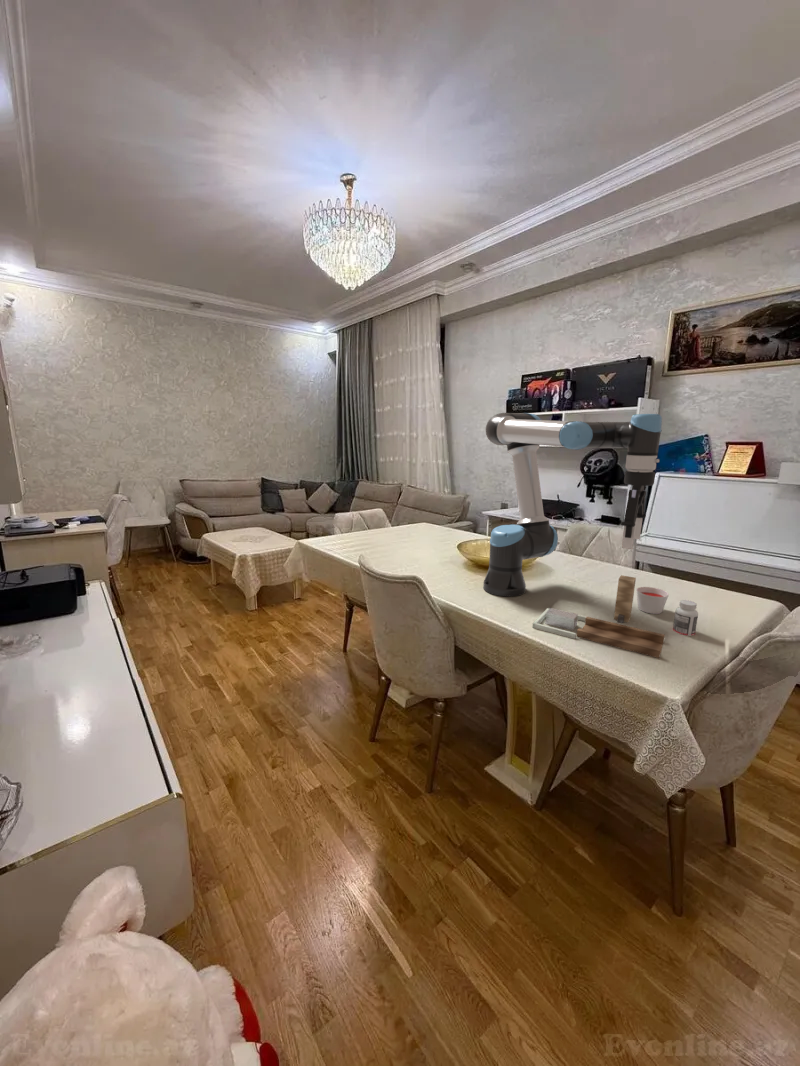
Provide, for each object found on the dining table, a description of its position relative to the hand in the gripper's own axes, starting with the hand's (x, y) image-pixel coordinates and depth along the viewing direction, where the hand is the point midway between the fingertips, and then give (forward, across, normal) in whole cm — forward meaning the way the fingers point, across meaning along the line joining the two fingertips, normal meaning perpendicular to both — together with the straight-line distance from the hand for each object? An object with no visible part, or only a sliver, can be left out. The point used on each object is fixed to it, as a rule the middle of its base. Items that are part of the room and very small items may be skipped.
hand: (630, 543), depth 126 cm
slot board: (+25, -15, -2) cm, 29 cm away
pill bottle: (+25, +1, -16) cm, 30 cm away
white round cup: (+25, +15, -6) cm, 30 cm away
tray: (+25, -15, +14) cm, 32 cm away
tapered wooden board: (+25, 0, 0) cm, 25 cm away
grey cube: (+24, -15, +16) cm, 33 cm away
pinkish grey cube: (+24, -15, +12) cm, 31 cm away
